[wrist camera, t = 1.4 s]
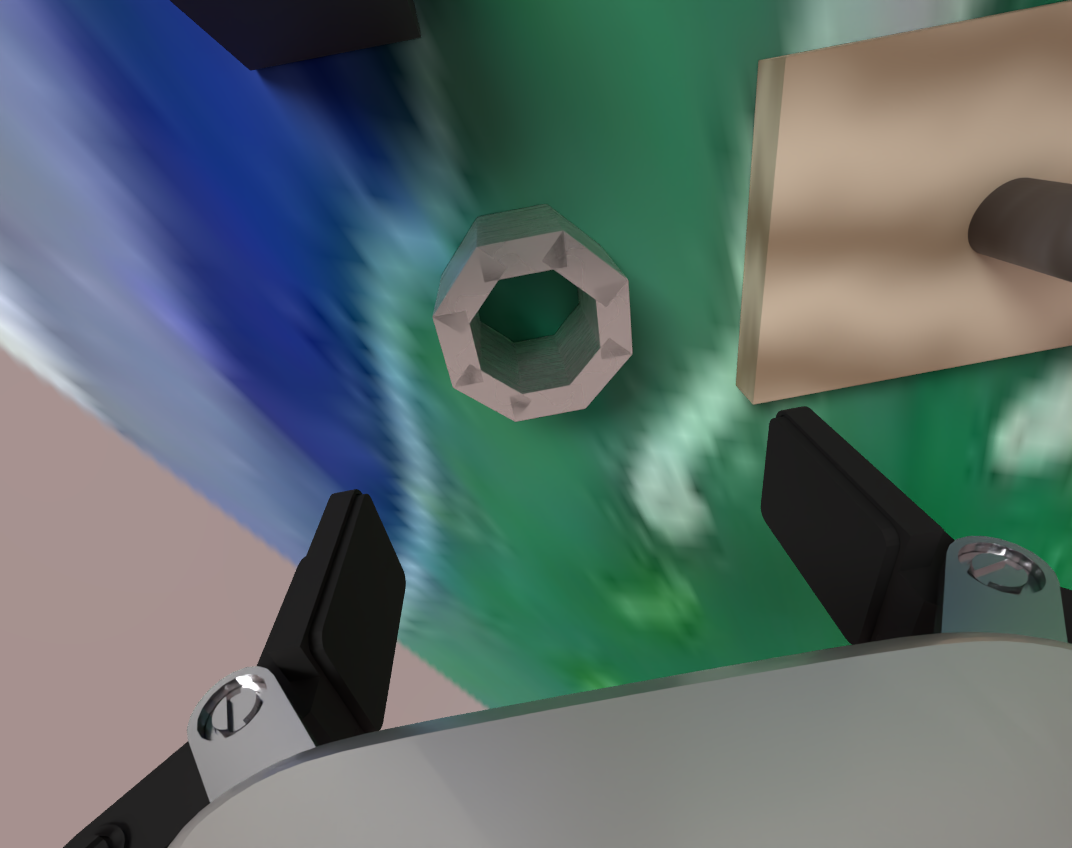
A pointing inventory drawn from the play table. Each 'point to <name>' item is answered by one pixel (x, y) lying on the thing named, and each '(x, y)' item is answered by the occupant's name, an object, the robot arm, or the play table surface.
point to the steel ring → (543, 363)
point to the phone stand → (301, 27)
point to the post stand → (909, 205)
